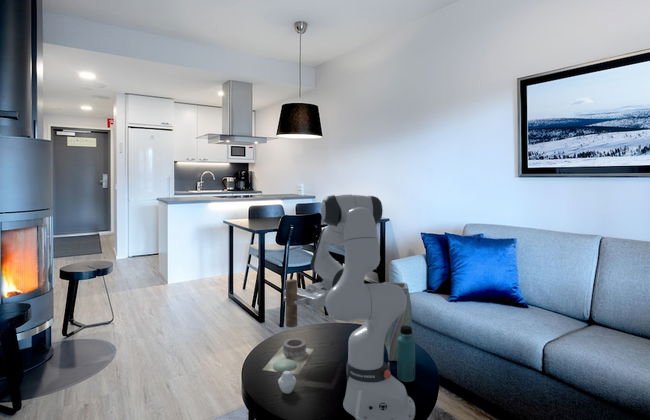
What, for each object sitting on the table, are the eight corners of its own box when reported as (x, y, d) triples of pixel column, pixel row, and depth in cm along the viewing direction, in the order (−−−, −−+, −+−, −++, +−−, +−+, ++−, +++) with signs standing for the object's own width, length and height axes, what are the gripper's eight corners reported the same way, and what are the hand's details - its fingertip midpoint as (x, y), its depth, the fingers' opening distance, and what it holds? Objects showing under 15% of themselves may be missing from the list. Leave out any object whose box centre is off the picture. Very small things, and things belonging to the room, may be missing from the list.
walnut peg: (298, 324, 151) (298, 279, 150) (295, 327, 147) (294, 282, 146) (288, 323, 152) (287, 279, 152) (284, 327, 148) (283, 281, 147)
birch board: (314, 352, 158) (314, 339, 158) (298, 378, 137) (298, 363, 136) (282, 349, 161) (282, 336, 161) (262, 373, 140) (262, 359, 140)
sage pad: (299, 361, 146) (299, 360, 146) (292, 372, 138) (292, 371, 138) (277, 359, 149) (277, 358, 148) (269, 370, 140) (269, 368, 140)
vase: (413, 366, 146) (414, 290, 144) (378, 364, 147) (378, 289, 145) (409, 351, 159) (410, 281, 157) (377, 349, 161) (378, 280, 159)
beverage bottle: (415, 387, 131) (416, 331, 129) (396, 385, 132) (396, 329, 131) (414, 378, 137) (415, 324, 136) (396, 376, 138) (397, 322, 137)
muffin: (289, 384, 133) (288, 365, 132) (300, 391, 128) (299, 371, 128) (274, 390, 128) (274, 371, 128) (285, 398, 124) (285, 377, 123)
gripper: (298, 282, 165) (273, 288, 156) (332, 291, 151) (307, 298, 141) (298, 296, 166) (273, 303, 156) (332, 306, 152) (307, 314, 142)
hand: (289, 301), depth 148 cm, fingers closed on walnut peg, 4 cm apart
